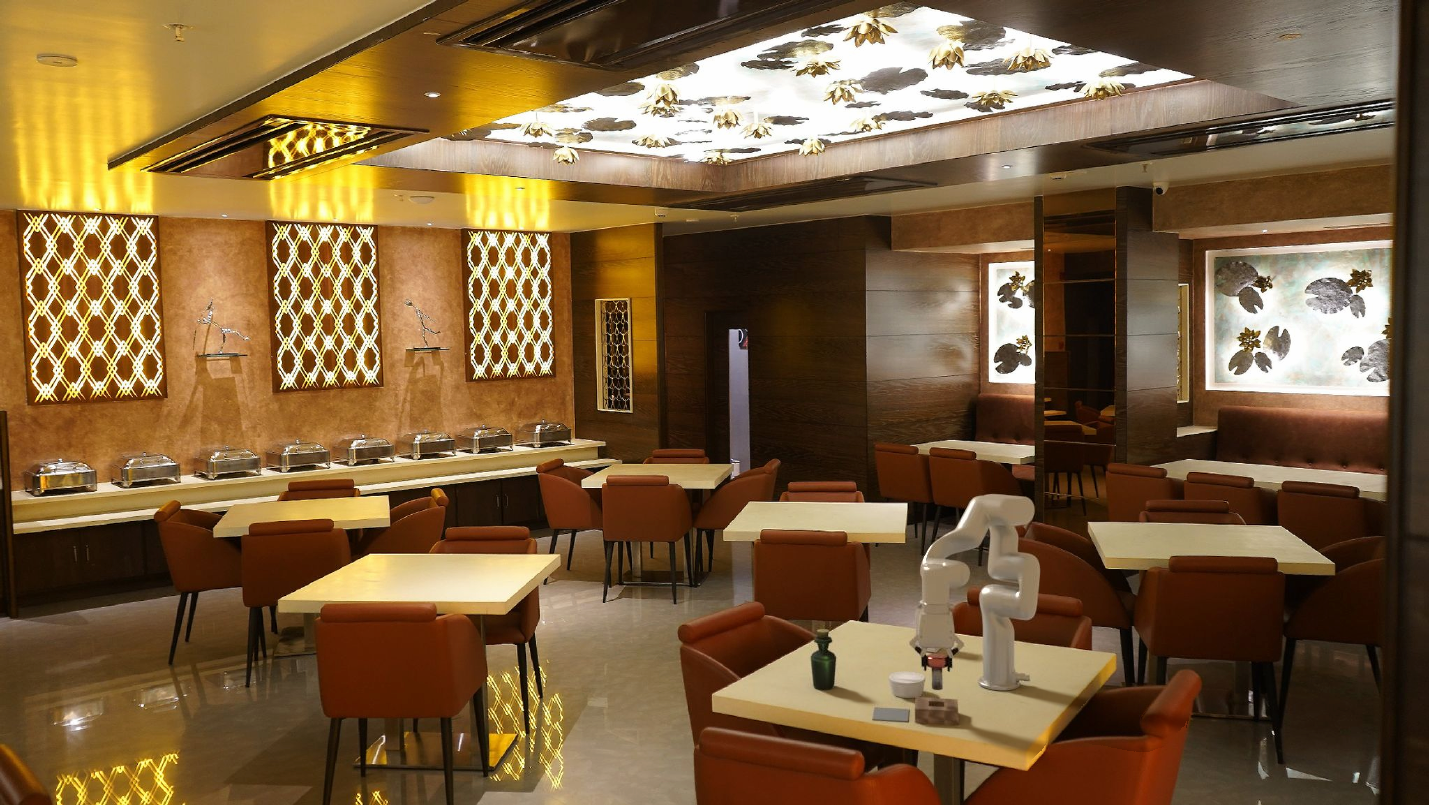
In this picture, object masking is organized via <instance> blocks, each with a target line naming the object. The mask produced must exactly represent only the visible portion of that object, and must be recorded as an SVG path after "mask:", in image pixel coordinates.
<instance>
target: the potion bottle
mask: <svg viewBox="0 0 1429 805" xmlns="http://www.w3.org/2000/svg"><path fill="white" fill-rule="evenodd" d="M816 633H817V636H815V637H814V640H813V642H814V643H815V644H817V648H818V650H816V651H813V653H811V655H810V658H809V659H810V664H811V676H812V686H813V687H814V688H815V689H816V690H819V691H827V690H831V689H833V688H835V680H836V669H837V668H836V666H837V656H836V654H835V653H834V652H832V651H831V650H830V649H829V645H830V644H831V643H833V639H832V637H831V636H829V633H830V630H829V629H826V628H824V629H823V628H820V629H817V630H816Z"/></svg>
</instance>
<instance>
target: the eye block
mask: <svg viewBox="0 0 1429 805" xmlns="http://www.w3.org/2000/svg"><path fill="white" fill-rule="evenodd" d="M914 702H915V703H914V723H917V724H918V723H919V724H936V725H938V724H939V725H952V726H959V699H957V698H940V697H939V698H938V697H924V696H923V697H921V696H919V697H916V698H915V701H914Z"/></svg>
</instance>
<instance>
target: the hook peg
mask: <svg viewBox="0 0 1429 805" xmlns="http://www.w3.org/2000/svg"><path fill="white" fill-rule="evenodd" d="M947 656H948V655H946V654H943V653H942V654H941V653H930V654H926V666H927V667H928V668H931V689H932V690H934V691H942V690H943V688H944V687H943V686H944V685H943V684H944V683H943V669H945V668H947Z"/></svg>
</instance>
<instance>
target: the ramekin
mask: <svg viewBox="0 0 1429 805" xmlns="http://www.w3.org/2000/svg"><path fill="white" fill-rule="evenodd" d="M888 681H889V686H890V691H891V693H892V694H893V695H894V696H896V697H898V698H903V699H914V698H915V699H916V697H921V696H922V695H923V693H924V688H925V682H926V677H925V675H923V674H922V673H918V672H916V671H915V672H913V671H896V672H892V673H891V674H890V675H888Z"/></svg>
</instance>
